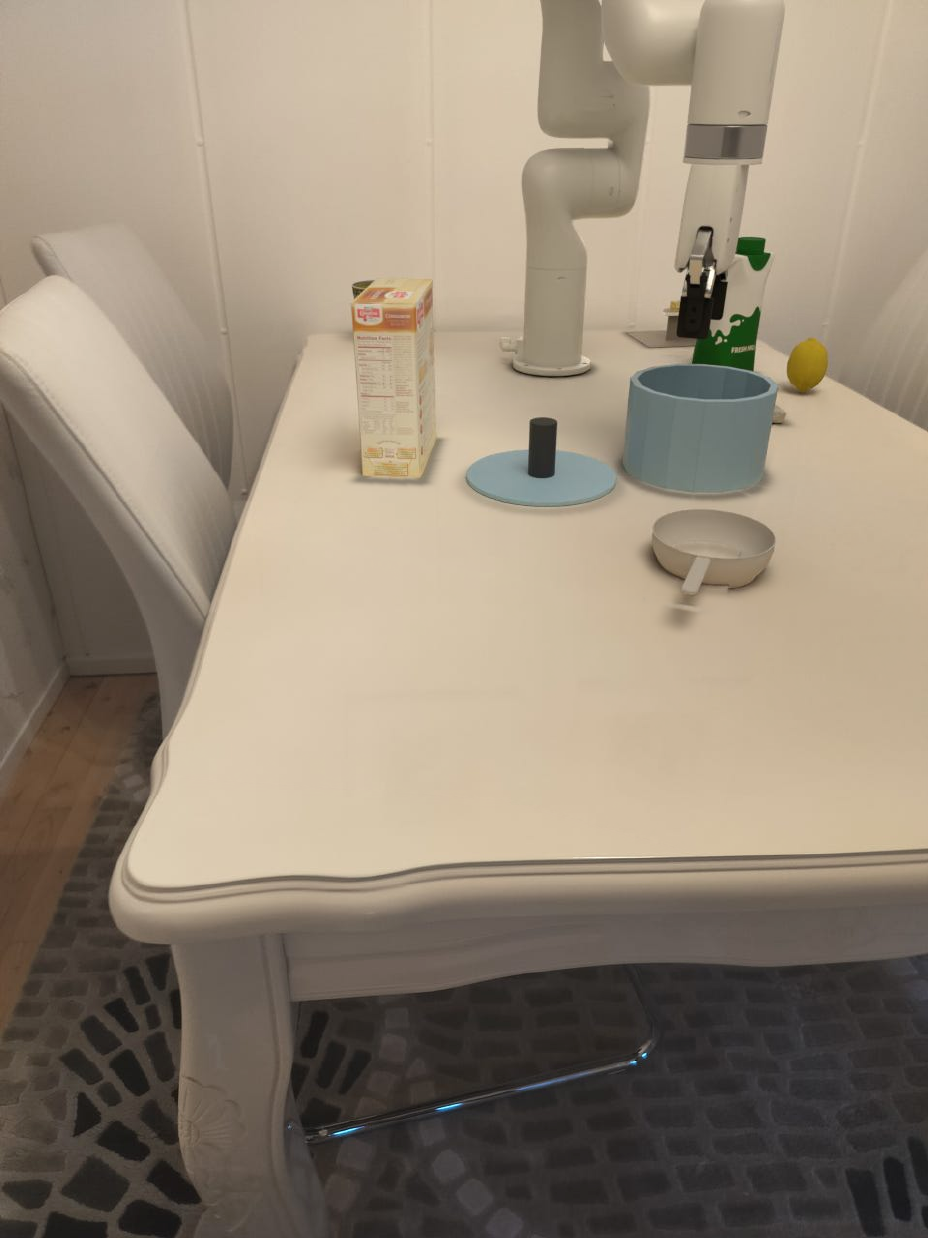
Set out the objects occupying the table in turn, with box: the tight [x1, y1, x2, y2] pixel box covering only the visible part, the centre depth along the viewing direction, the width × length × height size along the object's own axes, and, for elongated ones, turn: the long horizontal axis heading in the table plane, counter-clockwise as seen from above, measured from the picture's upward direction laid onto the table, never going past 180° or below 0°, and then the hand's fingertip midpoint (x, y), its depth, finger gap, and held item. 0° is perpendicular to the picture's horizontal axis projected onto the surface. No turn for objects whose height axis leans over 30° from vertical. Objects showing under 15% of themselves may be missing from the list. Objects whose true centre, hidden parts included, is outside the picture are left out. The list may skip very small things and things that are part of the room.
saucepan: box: [651, 508, 777, 596], centre depth 77 cm, size 11×18×4 cm, turn 157°
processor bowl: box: [622, 363, 780, 494], centre depth 100 cm, size 16×16×10 cm
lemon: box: [786, 337, 829, 394], centre depth 130 cm, size 6×6×8 cm
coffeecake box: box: [349, 277, 437, 479], centre depth 102 cm, size 15×7×20 cm, turn 174°
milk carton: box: [690, 236, 776, 372], centre depth 137 cm, size 9×9×20 cm
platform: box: [627, 300, 696, 348], centre depth 162 cm, size 12×18×7 cm, turn 99°
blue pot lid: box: [466, 416, 617, 507], centre depth 98 cm, size 17×17×7 cm
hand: (700, 327), depth 95 cm, fingers open, 9 cm apart
